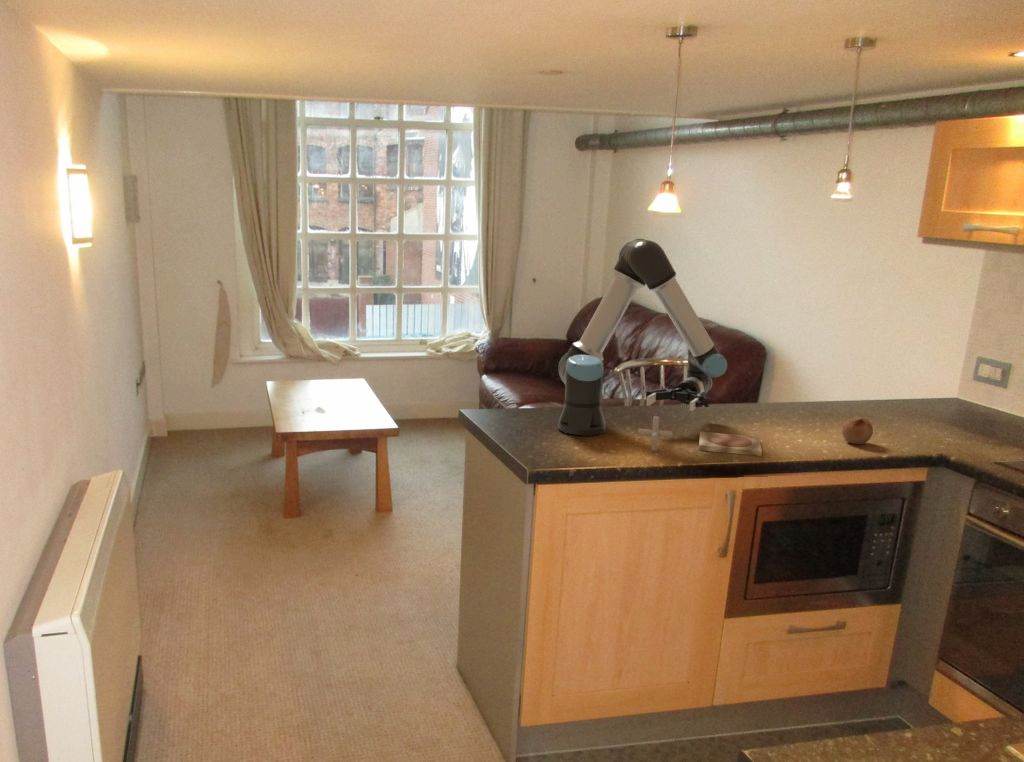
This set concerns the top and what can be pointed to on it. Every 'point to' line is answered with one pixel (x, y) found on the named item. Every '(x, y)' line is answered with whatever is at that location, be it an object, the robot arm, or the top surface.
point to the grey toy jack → (655, 433)
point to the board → (730, 443)
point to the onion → (857, 430)
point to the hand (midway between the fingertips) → (669, 404)
